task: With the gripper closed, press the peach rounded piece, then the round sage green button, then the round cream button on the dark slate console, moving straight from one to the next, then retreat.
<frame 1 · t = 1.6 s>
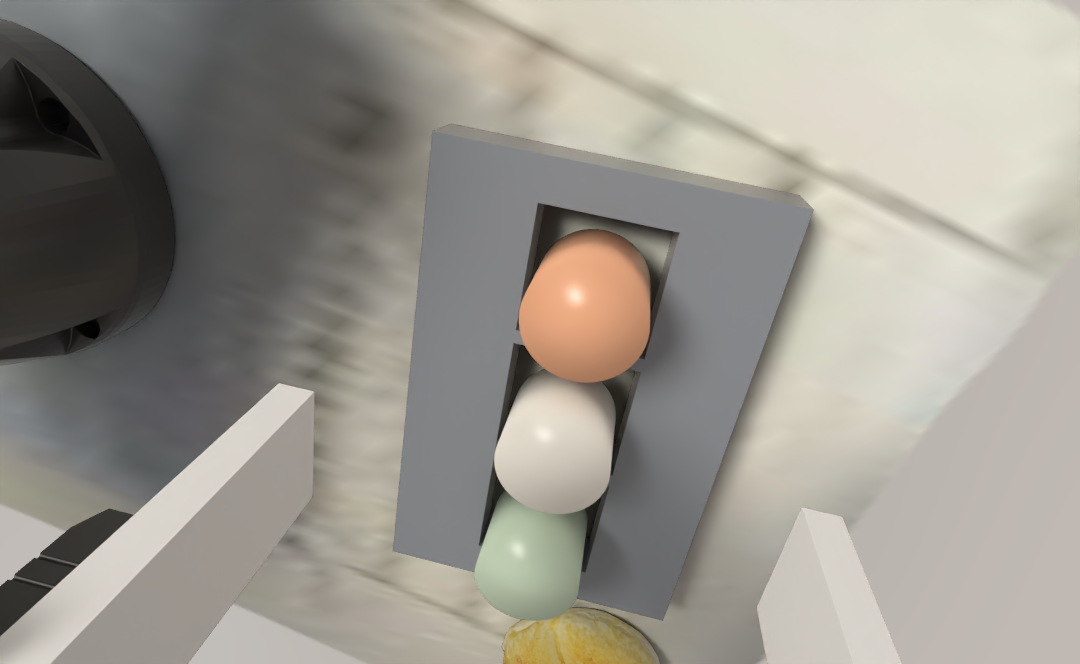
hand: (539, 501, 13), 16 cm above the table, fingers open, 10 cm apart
sage button: (533, 547, 28), point 4 cm above the table, slide at 0.0 cm
peach rounded piece: (588, 302, 23), point 4 cm above the table, slide at 0.0 cm
bread roll: (579, 651, 37), on the table
console: (571, 385, 29), on the table
cream button: (558, 437, 26), point 4 cm above the table, slide at 0.0 cm
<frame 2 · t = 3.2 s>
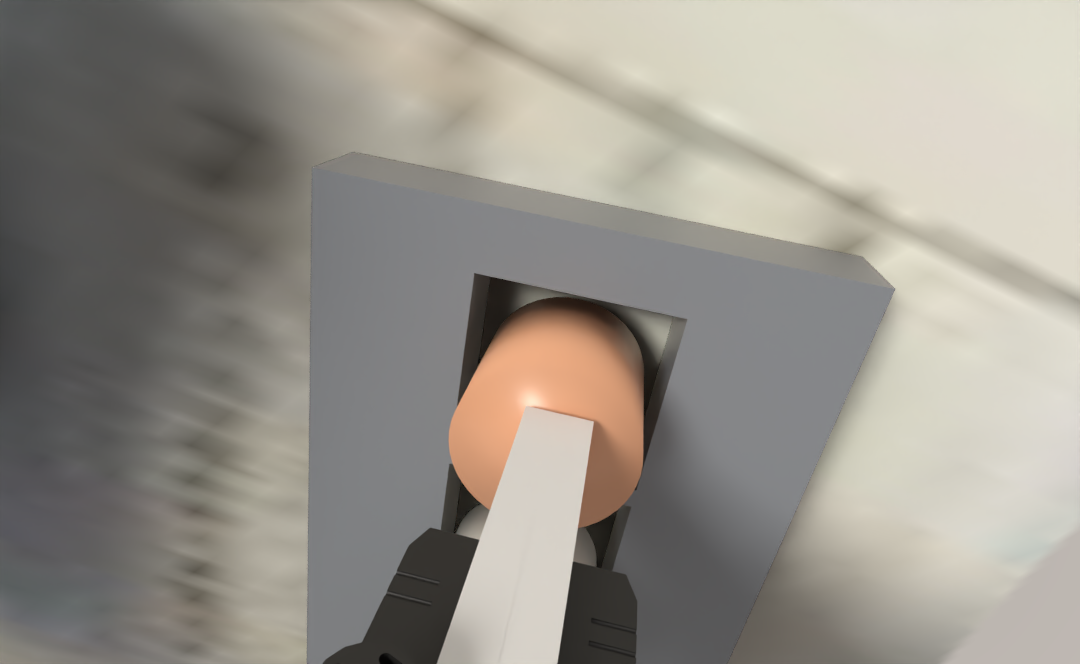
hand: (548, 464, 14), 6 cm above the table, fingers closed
peach rounded piece: (555, 407, 16), point 3 cm above the table, slide at 1.0 cm, touching gripper
console: (537, 502, 22), on the table
cream button: (512, 605, 18), point 4 cm above the table, slide at 0.0 cm
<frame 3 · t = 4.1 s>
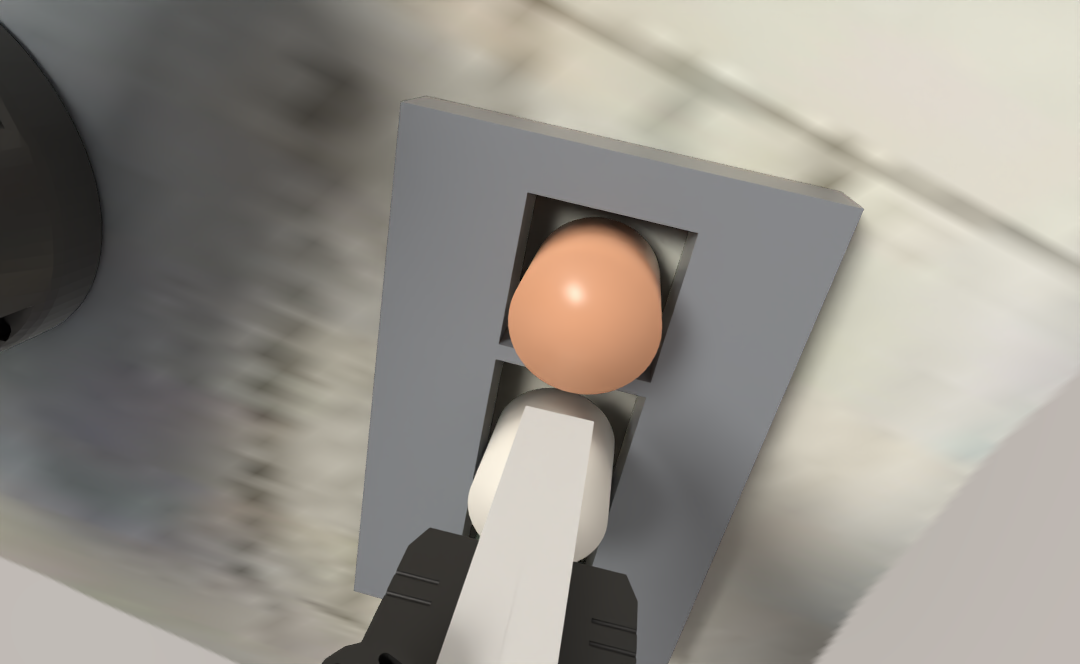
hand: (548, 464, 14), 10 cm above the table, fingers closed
sage button: (514, 597, 24), point 4 cm above the table, slide at 0.0 cm
peach rounded piece: (589, 301, 20), point 3 cm above the table, slide at 1.2 cm
console: (562, 407, 25), on the table
cream button: (546, 473, 21), point 4 cm above the table, slide at 0.0 cm
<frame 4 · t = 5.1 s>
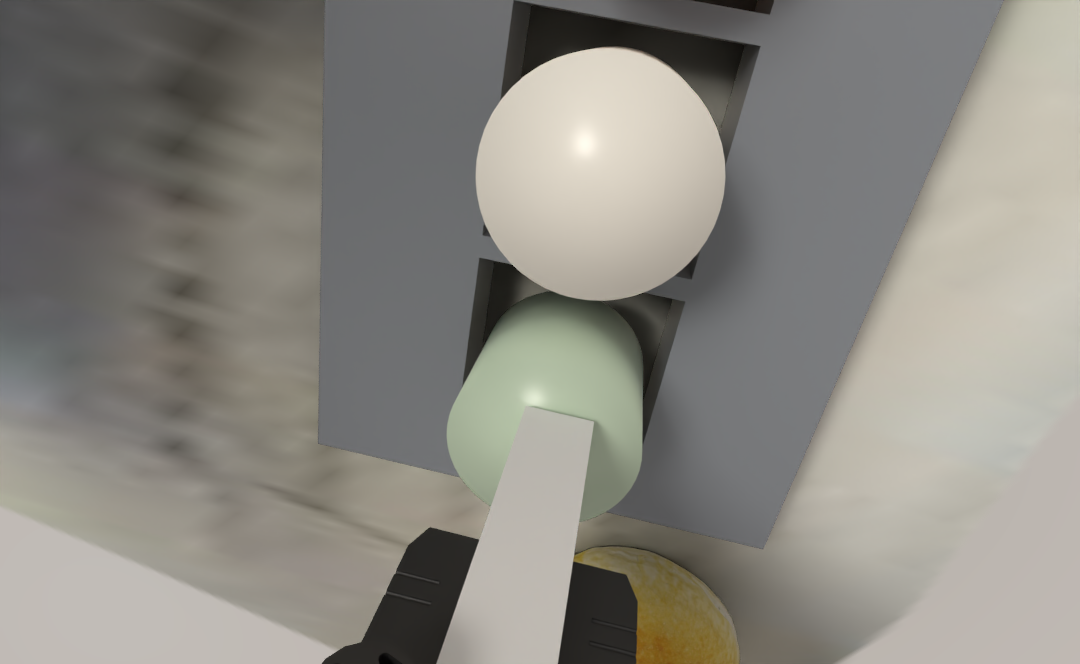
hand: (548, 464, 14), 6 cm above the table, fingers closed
sage button: (554, 401, 16), point 4 cm above the table, slide at 0.3 cm, touching gripper
bread roll: (609, 615, 25), on the table
console: (613, 135, 17), on the table
cream button: (603, 164, 13), point 4 cm above the table, slide at 0.0 cm
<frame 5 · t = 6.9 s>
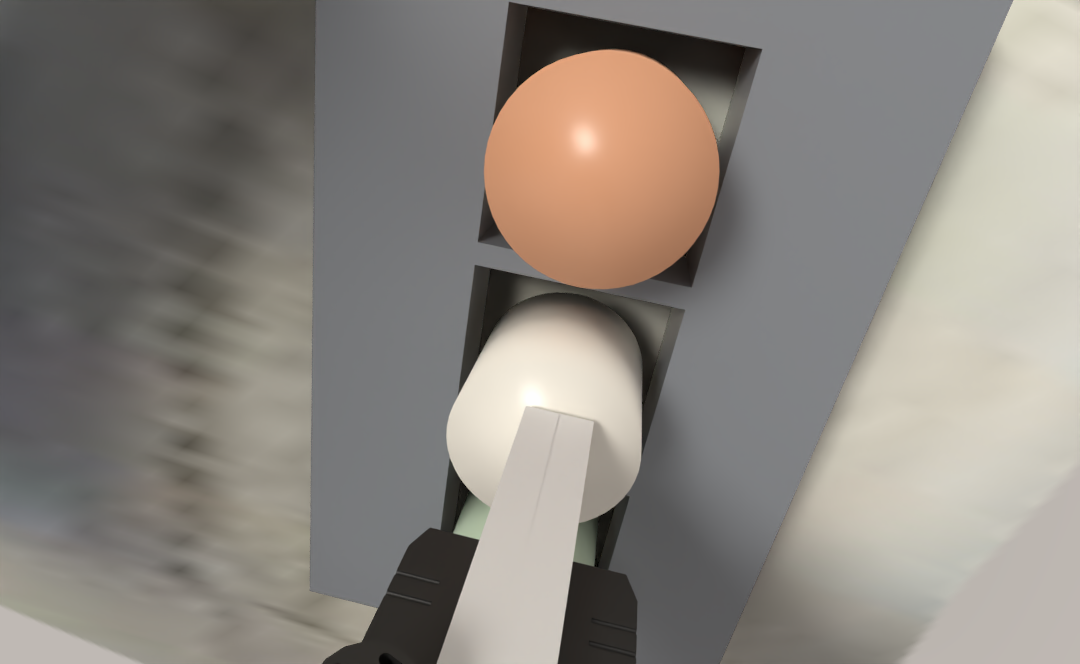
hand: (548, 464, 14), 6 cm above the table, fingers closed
sage button: (520, 562, 19), point 3 cm above the table, slide at 1.2 cm
peach rounded piece: (604, 161, 14), point 3 cm above the table, slide at 1.2 cm
console: (569, 340, 19), on the table
cream button: (553, 402, 16), point 4 cm above the table, slide at 0.8 cm, touching gripper
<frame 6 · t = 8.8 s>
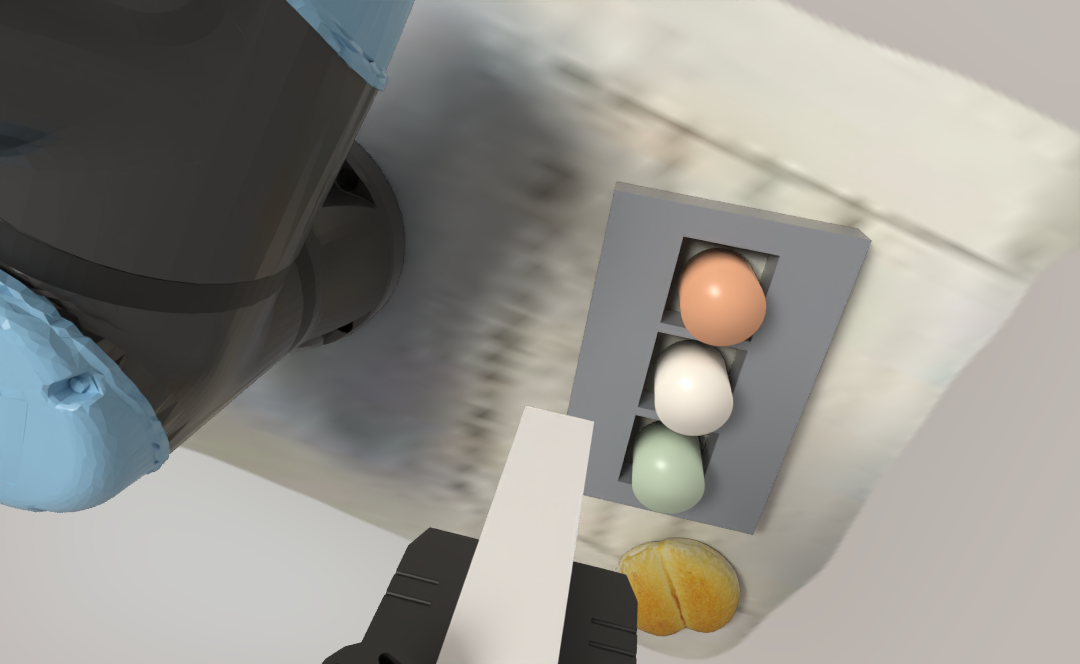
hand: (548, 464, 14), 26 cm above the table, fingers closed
sage button: (667, 465, 41), point 3 cm above the table, slide at 1.2 cm
peach rounded piece: (719, 295, 36), point 3 cm above the table, slide at 1.2 cm
bread roll: (674, 574, 49), on the table
console: (688, 362, 41), on the table
cream button: (691, 386, 38), point 3 cm above the table, slide at 1.2 cm
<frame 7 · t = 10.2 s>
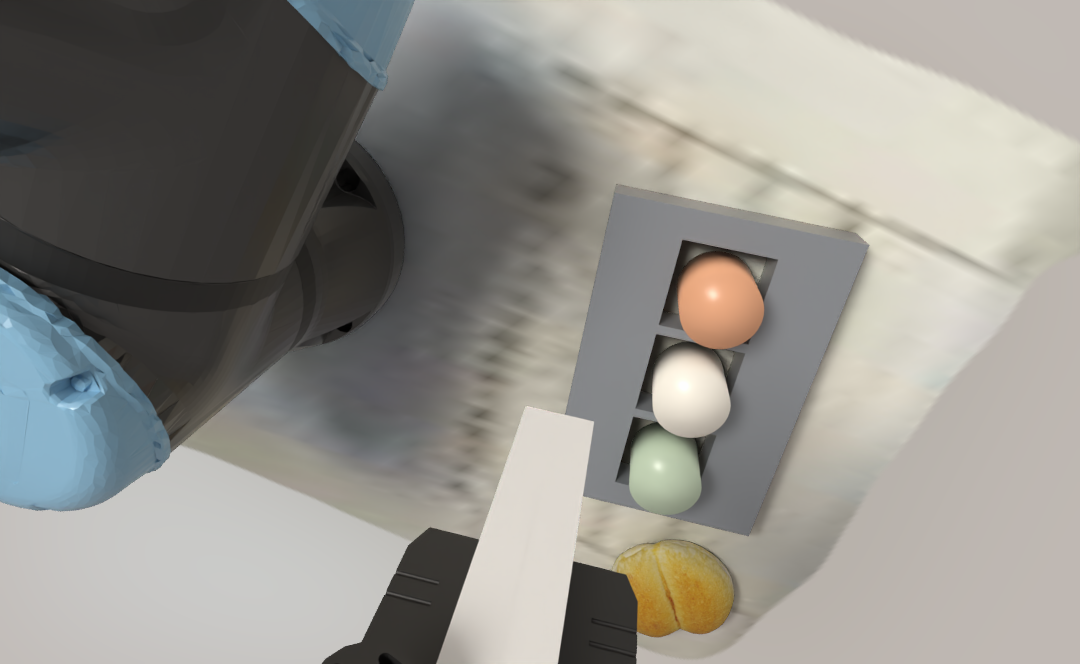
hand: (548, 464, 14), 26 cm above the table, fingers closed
sage button: (664, 467, 41), point 3 cm above the table, slide at 1.2 cm
peach rounded piece: (717, 298, 36), point 3 cm above the table, slide at 1.2 cm
bread roll: (668, 575, 49), on the table
console: (686, 364, 41), on the table
cream button: (689, 388, 38), point 3 cm above the table, slide at 1.2 cm
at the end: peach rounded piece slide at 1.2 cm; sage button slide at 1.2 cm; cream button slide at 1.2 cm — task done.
